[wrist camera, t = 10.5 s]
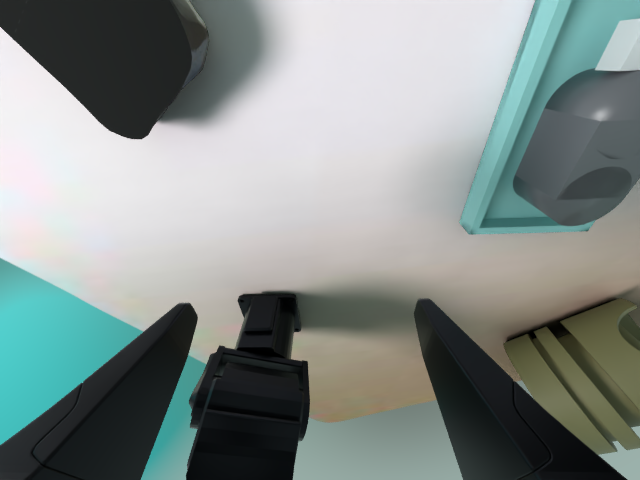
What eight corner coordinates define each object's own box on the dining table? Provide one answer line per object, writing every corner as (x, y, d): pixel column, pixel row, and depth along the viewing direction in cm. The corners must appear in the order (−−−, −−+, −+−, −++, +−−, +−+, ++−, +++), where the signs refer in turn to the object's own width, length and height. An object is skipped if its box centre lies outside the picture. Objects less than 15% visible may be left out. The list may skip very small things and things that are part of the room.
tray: (569, 219, 21) (587, 231, 19) (459, 222, 21) (469, 234, 20) (744, -49, 12) (802, -64, 10) (547, -35, 12) (577, -47, 11)
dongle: (556, 197, 19) (603, 225, 16) (504, 199, 19) (539, 227, 16) (659, 19, 13) (769, 7, 10) (580, 24, 13) (662, 14, 10)
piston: (631, 325, 30) (765, 443, 21) (526, 361, 35) (596, 467, 26) (606, 279, 25) (764, 404, 16) (490, 328, 31) (560, 442, 21)
